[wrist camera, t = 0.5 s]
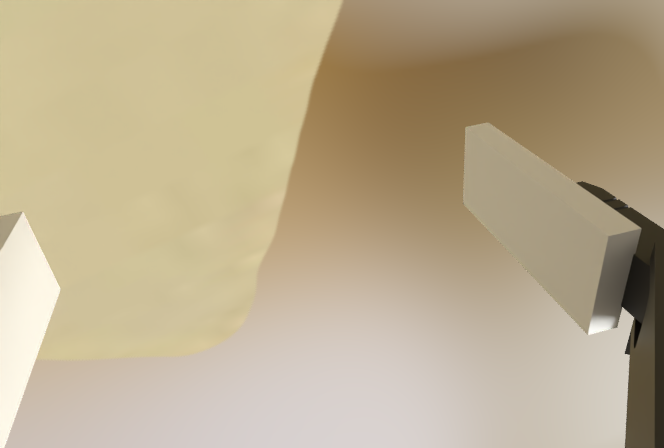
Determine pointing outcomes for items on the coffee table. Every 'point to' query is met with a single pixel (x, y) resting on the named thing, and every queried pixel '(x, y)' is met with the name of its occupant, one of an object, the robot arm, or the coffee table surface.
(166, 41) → the coffee table surface
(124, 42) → the coffee table surface
